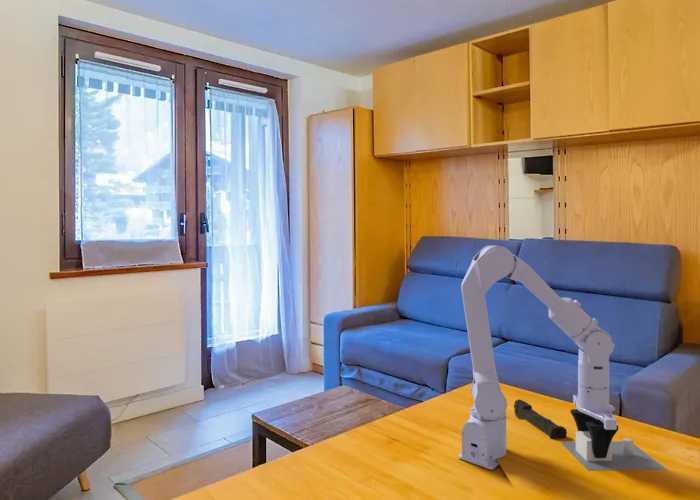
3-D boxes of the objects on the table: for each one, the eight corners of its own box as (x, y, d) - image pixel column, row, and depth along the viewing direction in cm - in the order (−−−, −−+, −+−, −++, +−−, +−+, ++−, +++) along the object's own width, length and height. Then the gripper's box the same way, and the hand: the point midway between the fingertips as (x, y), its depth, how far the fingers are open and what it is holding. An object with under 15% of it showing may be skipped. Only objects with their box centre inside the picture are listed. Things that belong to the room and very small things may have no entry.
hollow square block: (586, 460, 101) (586, 441, 101) (575, 450, 106) (575, 431, 106) (611, 460, 101) (611, 440, 100) (599, 449, 106) (599, 430, 105)
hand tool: (567, 444, 112) (568, 423, 112) (551, 445, 111) (551, 424, 111) (525, 414, 131) (525, 396, 131) (510, 415, 130) (510, 397, 130)
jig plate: (588, 476, 97) (588, 454, 97) (560, 447, 110) (560, 428, 110) (667, 475, 97) (667, 453, 96) (630, 446, 110) (630, 427, 109)
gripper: (633, 396, 95) (632, 467, 96) (596, 374, 110) (596, 436, 110) (595, 396, 95) (595, 468, 96) (563, 375, 110) (563, 437, 110)
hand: (593, 451), depth 103 cm, fingers closed on hollow square block, 5 cm apart
